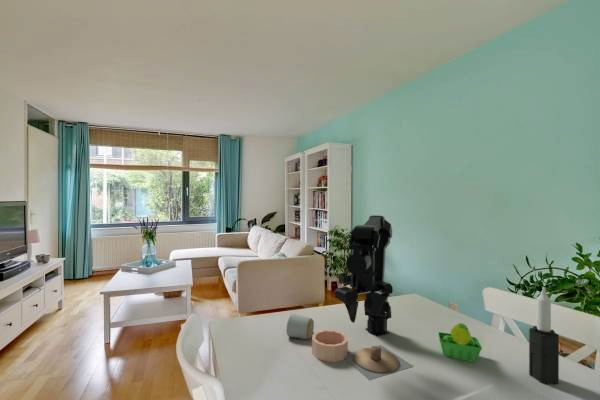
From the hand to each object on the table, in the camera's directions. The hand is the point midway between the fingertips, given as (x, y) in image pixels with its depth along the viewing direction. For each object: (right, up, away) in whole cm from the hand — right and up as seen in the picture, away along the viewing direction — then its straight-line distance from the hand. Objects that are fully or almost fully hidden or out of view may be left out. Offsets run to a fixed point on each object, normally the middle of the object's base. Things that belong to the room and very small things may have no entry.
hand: (364, 319), depth 90 cm
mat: (+3, -12, -1) cm, 13 cm away
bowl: (-10, -12, +3) cm, 16 cm away
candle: (+47, -13, -9) cm, 50 cm away
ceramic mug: (-19, -13, +16) cm, 28 cm away
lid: (+3, -12, -1) cm, 12 cm away
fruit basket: (+30, -13, +2) cm, 33 cm away
